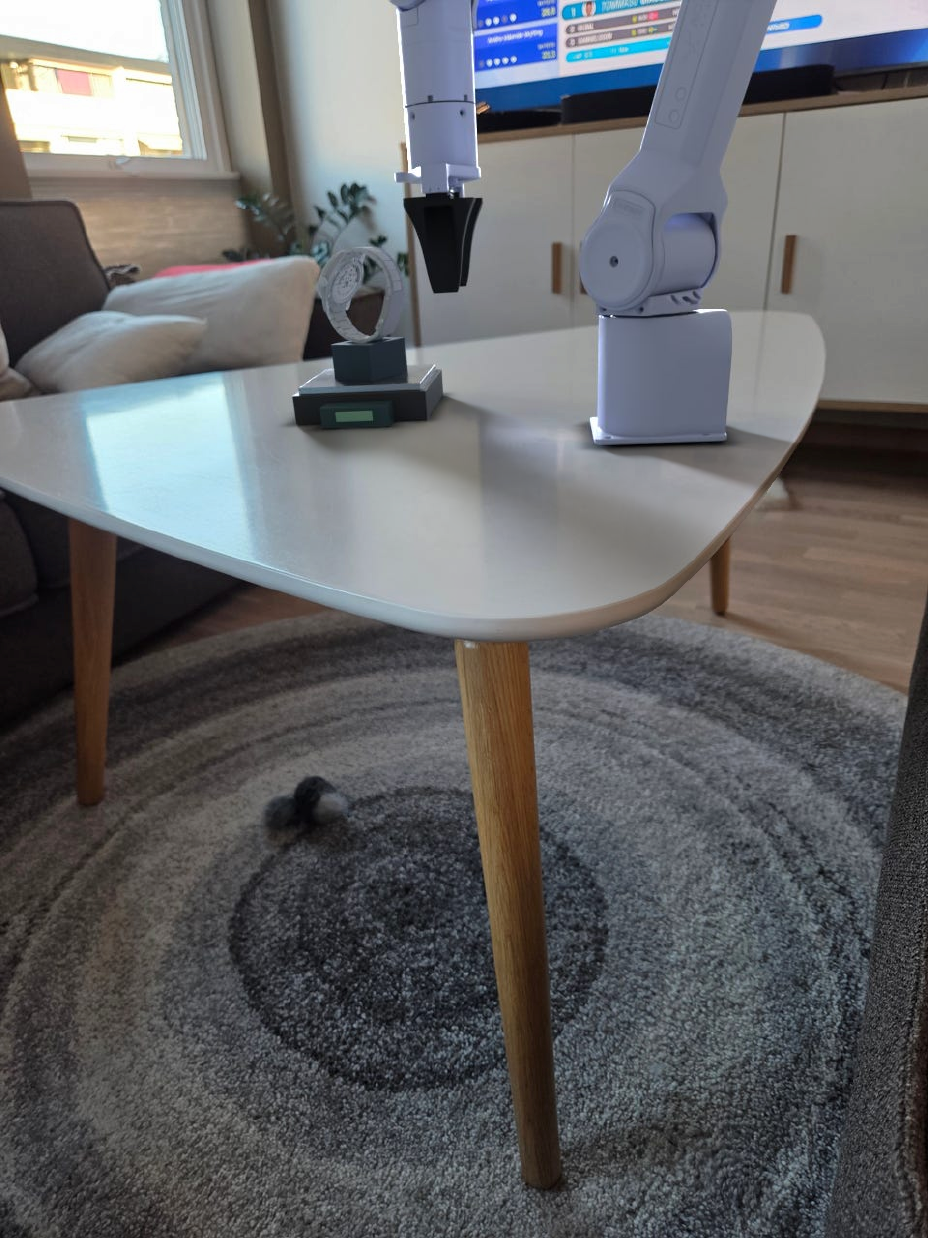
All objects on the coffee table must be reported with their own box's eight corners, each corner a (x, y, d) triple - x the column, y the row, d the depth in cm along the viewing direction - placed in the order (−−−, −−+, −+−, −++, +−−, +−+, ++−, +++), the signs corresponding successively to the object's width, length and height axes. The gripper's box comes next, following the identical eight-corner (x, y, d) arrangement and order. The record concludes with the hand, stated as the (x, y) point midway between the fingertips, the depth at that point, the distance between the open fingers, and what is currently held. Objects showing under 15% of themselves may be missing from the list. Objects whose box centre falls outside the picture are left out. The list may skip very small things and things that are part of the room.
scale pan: (436, 369, 82) (435, 363, 81) (420, 390, 72) (420, 383, 71) (328, 374, 83) (327, 368, 82) (298, 394, 73) (297, 387, 73)
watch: (355, 369, 81) (342, 247, 76) (422, 372, 77) (413, 243, 72) (318, 379, 76) (301, 250, 72) (387, 382, 72) (375, 246, 68)
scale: (443, 394, 83) (441, 368, 82) (423, 425, 70) (421, 396, 69) (328, 398, 84) (324, 373, 83) (287, 430, 71) (283, 401, 70)
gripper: (404, 121, 72) (417, 286, 78) (373, 98, 59) (391, 298, 65) (483, 115, 72) (490, 282, 77) (470, 90, 59) (479, 293, 64)
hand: (450, 289), depth 71 cm, fingers open, 7 cm apart
